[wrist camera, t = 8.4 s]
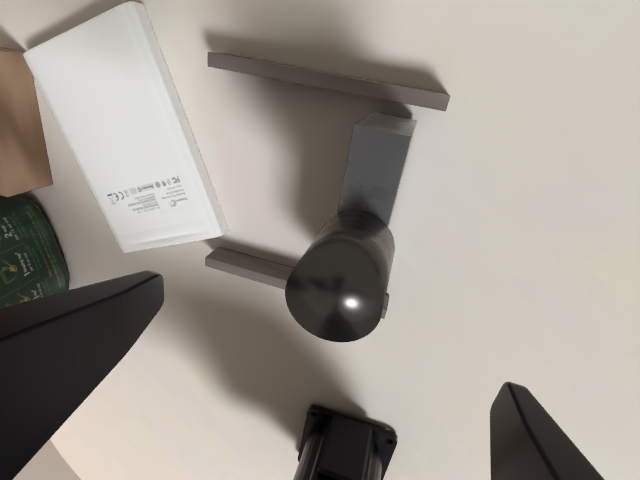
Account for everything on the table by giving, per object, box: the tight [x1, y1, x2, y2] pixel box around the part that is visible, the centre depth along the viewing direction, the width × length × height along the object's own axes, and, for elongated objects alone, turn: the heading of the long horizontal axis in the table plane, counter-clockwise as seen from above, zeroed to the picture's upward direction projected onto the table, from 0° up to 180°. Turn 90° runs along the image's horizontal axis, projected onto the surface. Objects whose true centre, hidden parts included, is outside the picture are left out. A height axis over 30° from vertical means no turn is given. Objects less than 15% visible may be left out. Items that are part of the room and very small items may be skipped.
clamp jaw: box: [285, 112, 417, 342], centre depth 15 cm, size 9×3×9 cm, turn 171°
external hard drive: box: [23, 1, 229, 253], centre depth 21 cm, size 2×8×12 cm
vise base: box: [0, 47, 450, 319], centre depth 20 cm, size 12×26×3 cm, turn 81°
